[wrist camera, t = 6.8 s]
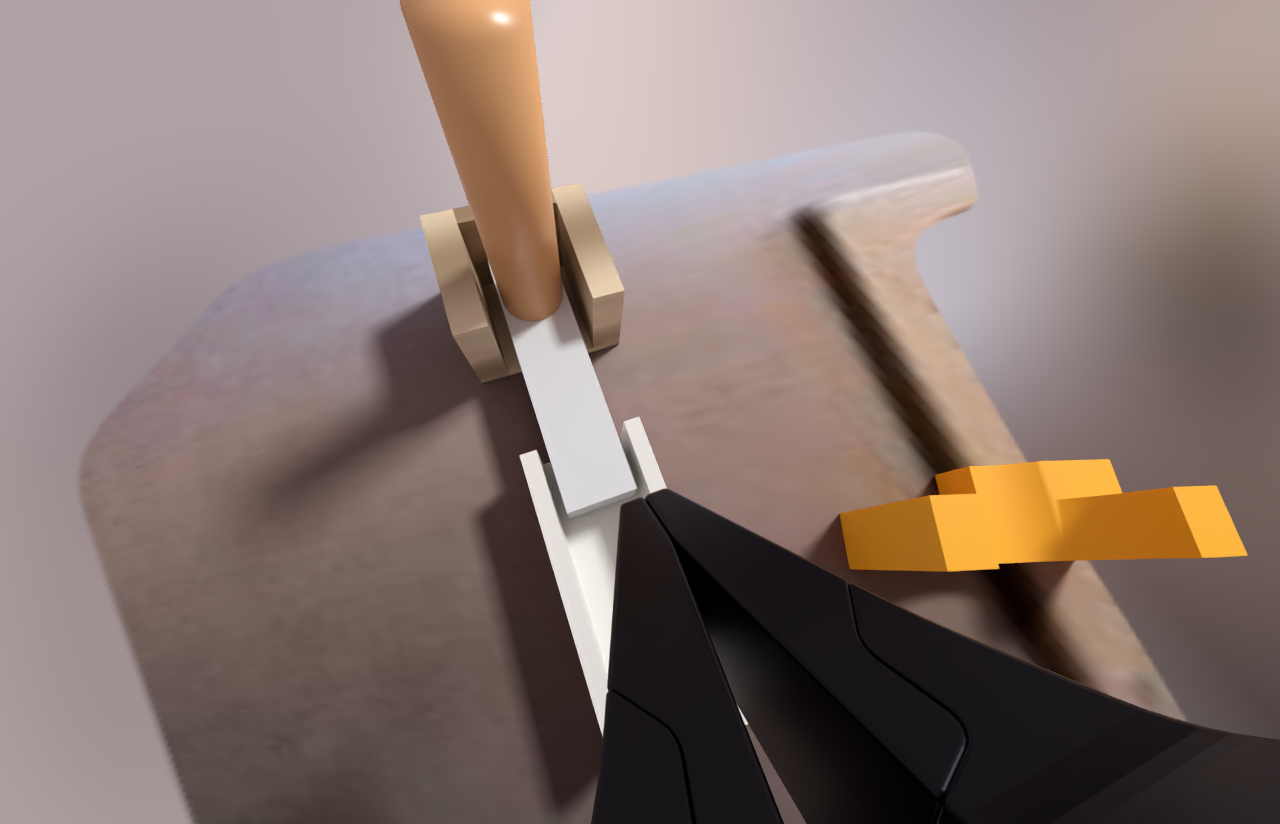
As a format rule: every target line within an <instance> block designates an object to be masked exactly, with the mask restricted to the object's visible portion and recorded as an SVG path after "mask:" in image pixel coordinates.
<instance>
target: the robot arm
mask: <svg viewBox="0 0 1280 824" xmlns="http://www.w3.org/2000/svg"><path fill="white" fill-rule="evenodd" d="M607 689H608V692H607V694H606V704H605V717H604V729H603V739H602V748H601V758H600V767H599V776H598V783H597V789H596V796H595V802H594V808H593V815H592V821H591V824H784V823H783V820H782V818H781V815H780V813H779V810H778V807H777V805H776V802H775V800H774V797H773V795H772V792H771V790H770V787H769V785H768V782H767V779H766V777H765V774H764V772H763V769H762V767H761V764H760V762H759V759H758V757H757V754H756V751H755V749H754V746H753V744H752V741H751V739H750V736H749V734H748V731H747V729H746V726H745V723H744V721H743V718H742V716H741V713H740V711H739V709H740V710H741V712H742V714H743V715H744V717H745V719H746V721H747V722H748V724H749V726H750V727H751V729H752V731H753V733H754V734H755V736H756V738H757V739H758V741H759V743H760V745H761V746H762V748H763V750H764V751H765V753H766V755H767V757H768V758H769V760H770V762H771V763H772V765H773V767H774V769H775V770H776V772H777V774H778V775H779V777H780V779H781V781H782V782H783V784H784V786H785V787H786V789H787V791H788V792H789V794H790V796H791V798H792V799H793V801H794V803H795V804H796V806H797V808H798V810H799V811H800V813H801V815H802V816H803V818H804V820H805V822H806V823H807V824H1280V740H1278V739H1270V738H1263V737H1257V736H1250V735H1244V734H1238V733H1232V732H1227V731H1223V730H1218V729H1213V728H1209V727H1204V726H1200V725H1196V724H1193V723H1189V722H1185V721H1182V720H1178V719H1174V718H1171V717H1168V716H1165V715H1162V714H1158V713H1155V712H1152V711H1149V710H1146V709H1143V708H1140V707H1138V706H1135V705H1133V704H1130V703H1127V702H1125V701H1122V700H1120V699H1117V698H1114V697H1112V696H1109V695H1107V694H1105V693H1102V692H1100V691H1097V690H1095V689H1093V688H1090V687H1088V686H1085V685H1083V684H1080V683H1078V682H1076V681H1073V680H1071V679H1068V678H1066V677H1063V676H1061V675H1059V674H1056V673H1054V672H1051V671H1049V670H1046V669H1044V668H1042V667H1039V666H1037V665H1034V664H1032V663H1030V662H1027V661H1025V660H1022V659H1020V658H1017V657H1015V656H1013V655H1010V654H1008V653H1005V652H1003V651H1000V650H998V649H996V648H993V647H991V646H988V645H986V644H984V643H981V642H979V641H976V640H974V639H972V638H969V637H967V636H965V635H962V634H960V633H958V632H956V631H953V630H951V629H949V628H946V627H944V626H942V625H939V624H937V623H935V622H932V621H930V620H928V619H926V618H923V617H921V616H919V615H917V614H915V613H913V612H911V611H909V610H907V609H905V608H903V607H900V606H898V605H896V604H894V603H892V602H890V601H888V600H886V599H884V598H882V597H880V596H878V595H876V594H874V593H872V592H870V591H868V590H866V589H864V588H862V587H860V586H858V585H856V584H854V583H850V584H849V586H848V582H847V580H846V579H844V578H842V577H840V576H838V575H836V574H834V573H832V572H830V571H828V570H826V569H824V568H822V567H820V566H819V565H817V564H815V563H813V562H811V561H809V560H807V559H805V558H803V557H801V556H799V555H797V554H795V553H793V552H791V551H789V550H787V549H785V548H783V547H781V546H779V545H777V544H775V543H773V542H772V541H770V540H768V539H766V538H764V537H762V536H760V535H758V534H756V533H754V532H752V531H750V530H748V529H746V528H744V527H742V526H740V525H738V524H736V523H734V522H732V521H730V520H728V519H726V518H725V517H723V516H721V515H719V514H717V513H715V512H713V511H711V510H709V509H707V508H705V507H703V506H701V505H699V504H697V503H695V502H693V501H691V500H689V499H687V498H685V497H683V496H681V495H679V494H678V493H676V492H674V491H672V490H670V489H666V488H664V489H661V490H658V491H655V492H652V493H650V494H647V495H646V496H645V499H644V498H642V497H639V498H636V499H633V500H630V501H627V502H625V503H623V504H622V505H621V506H620V514H619V528H618V542H617V556H616V570H615V584H614V598H613V611H612V625H611V639H610V653H609V667H608V681H607ZM737 705H738V706H737ZM738 707H739V708H738Z"/></svg>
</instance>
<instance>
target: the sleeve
mask: <svg viewBox="0 0 1280 824" xmlns="http://www.w3.org/2000/svg"><path fill="white" fill-rule="evenodd" d="M619 440H620V443H621V445H622V448H623V451H624V454H625V456H626V459H627V462H628V465H629V467H630V470H631V473H632V476H633V478H634V481H635V484H636V487H637V490H636V491H635V493H634V495H633V496H632V497H629V498H626V499H623V500H620V501H618V502H615V503H612V504H609V505H607V506H604V507H601V508H598V509H595V510H593V511H590V512H587V513H584V514H581V515H579V516H576V517H573V518H569V516H568V514H567V512H566V509H565V506H564V502H563V499H562V496H561V493H560V490H559V486H558V483H557V480H556V477H555V474H554V471H553V467H552V464H551V462H549V463H546V464H543V462H542V460H541V458H540V456H539V454H538V452H537V450H534V451H531V452H528V453H525V454H522V455H519V456H520V459H521V462H522V466H523V469H524V473H525V476H526V479H527V483H528V486H529V490H530V493H531V496H532V500H533V503H534V506H535V510H536V513H537V517H538V520H539V523H540V527H541V530H542V533H543V537H544V540H545V544H546V547H547V550H548V554H549V557H550V561H551V564H552V567H553V571H554V574H555V577H556V581H557V584H558V588H559V591H560V594H561V598H562V601H563V605H564V608H565V611H566V615H567V618H568V621H569V625H570V628H571V632H572V635H573V638H574V642H575V645H576V648H577V652H578V655H579V659H580V662H581V665H582V669H583V672H584V676H585V679H586V682H587V686H588V689H589V692H590V696H591V699H592V703H593V706H594V709H595V713H596V716H597V719H598V723H599V726H600V730H601V733H602V736H603V729H604V717H605V704H606V694H607V692H608V689H607V681H608V667H609V653H610V639H611V625H612V611H613V598H614V584H615V570H616V556H617V542H618V528H619V514H620V506H621V505H622V504H623V503H625V502H627V501H630V500H633V499H636V498H639V497H642V498H644V499H645V496H646V495H647V494H650V493H652V492H655V491H658V490H661V489H664V488H666V485H665V483H664V480H663V478H662V475H661V472H660V470H659V467H658V464H657V462H656V459H655V457H654V454H653V451H652V449H651V446H650V444H649V441H648V438H647V436H646V433H645V430H644V428H643V425H642V423H641V420H640V417H637V418H633V419H630V420H627V421H624V423H623V428H622V433H621V437H620V439H619ZM666 489H667V488H666ZM737 706H738V705H737ZM738 708H739V707H738ZM739 711H740V713H741V716H742V718H743V721H744V723H745V725H747V724H748V722H747V721H746V719H745V717H744V715H743V714H742V712H741V710H740V709H739Z"/></svg>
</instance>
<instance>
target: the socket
mask: <svg viewBox="0 0 1280 824" xmlns="http://www.w3.org/2000/svg"><path fill="white" fill-rule="evenodd" d="M551 192H552V201H553V210H554V219H555V228H556V236H557V245H558V254H559V263H560V272H561V280H562V283H563V286H564V289H565V292H566V294H567V297H568V300H569V303H570V305H571V308H572V311H573V314H574V316H575V319H576V322H577V325H578V327H579V330H580V333H581V336H582V338H583V341H584V344H585V346H586V349H587V352H588V353H591V352H594V351H598V350H601V349H604V348H608V347H611V346H615V345H618V344H619V335H620V326H621V317H622V308H623V300H624V291H625V290H624V288H623V285H622V283H621V280H620V278H619V275H618V273H617V271H616V268H615V266H614V263H613V261H612V258H611V256H610V253H609V251H608V248H607V246H606V244H605V241H604V239H603V236H602V234H601V231H600V229H599V226H598V224H597V221H596V219H595V216H594V214H593V212H592V209H591V207H590V204H589V202H588V199H587V197H586V194H585V192H584V190H583V187H582V185H581V183H576V184H572V185H567V186H562V187H557V188H552V189H551ZM420 219H421V223H422V227H423V230H424V234H425V238H426V241H427V245H428V248H429V252H430V256H431V259H432V263H433V267H434V270H435V274H436V278H437V281H438V285H439V289H440V292H441V296H442V300H443V303H444V307H445V311H446V314H447V318H448V322H449V325H450V329H451V333H452V336H453V337H454V339H455V341H456V342H457V344H458V345H459V347H460V349H461V350H462V352H463V354H464V355H465V357H466V358H467V360H468V362H469V363H470V365H471V367H472V368H473V370H474V371H475V373H476V375H477V376H478V378H479V379H480V381H481V383H486V382H489V381H493V380H496V379H500V378H503V377H507V376H510V375H514V374H517V373H521V372H522V369H521V366H520V363H519V359H518V356H517V353H516V350H515V347H514V343H513V340H512V337H511V334H510V331H509V328H508V324H507V321H506V318H505V315H504V312H503V309H502V305H501V302H500V299H499V296H498V293H497V289H496V286H495V283H494V280H493V277H492V274H491V270H490V267H489V264H488V261H487V260H488V258H487V255H486V252H485V249H484V246H483V243H482V241H481V238H480V235H479V232H478V229H477V226H476V223H475V220H474V218H473V215H472V212H471V209H470V206H466V207H461V208H456V209H451V210H446V211H442V212H437V213H432V214H427V215H422V216H420Z"/></svg>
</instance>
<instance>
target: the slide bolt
mask: <svg viewBox="0 0 1280 824" xmlns="http://www.w3.org/2000/svg"><path fill="white" fill-rule="evenodd" d="M400 5H401V10H402V13H403V15H404V18H405V21H406V24H407V27H408V30H409V33H410V36H411V39H412V42H413V44H414V47H415V50H416V53H417V56H418V59H419V62H420V64H421V67H422V70H423V73H424V76H425V79H426V82H427V85H428V88H429V90H430V93H431V96H432V99H433V102H434V105H435V108H436V111H437V113H438V117H439V119H440V122H441V125H442V128H443V131H444V134H445V137H446V140H447V143H448V145H449V148H450V151H451V154H452V157H453V160H454V163H455V166H456V168H457V171H458V174H459V177H460V180H461V183H462V186H463V188H464V192H465V194H466V197H467V200H468V203H469V206H470V209H471V212H472V215H473V218H474V220H475V223H476V226H477V229H478V232H479V235H480V238H481V241H482V243H483V246H484V249H485V252H486V255H487V258H488V260H487V261H488V264H489V267H490V270H491V274H492V277H493V280H494V283H495V286H496V289H497V293H498V296H499V299H500V302H501V305H502V309H503V312H504V315H505V318H506V321H507V324H508V328H509V331H510V334H511V337H512V340H513V343H514V347H515V350H516V353H517V356H518V359H519V363H520V366H521V369H522V372H523V375H524V378H525V382H526V385H527V388H528V391H529V394H530V398H531V401H532V404H533V407H534V410H535V413H536V417H537V420H538V423H539V426H540V429H541V432H542V436H543V439H544V442H545V445H546V448H547V452H548V455H549V458H550V461H551V464H552V467H553V471H554V474H555V477H556V480H557V483H558V486H559V490H560V493H561V496H562V499H563V502H564V506H565V509H566V512H567V514H568V516H569V518H573V517H576V516H579V515H581V514H584V513H587V512H590V511H593V510H595V509H598V508H601V507H604V506H607V505H609V504H612V503H615V502H618V501H620V500H623V499H626V498H629V497H632V496H633V495H634V493H635V491H636V490H637V487H636V484H635V481H634V478H633V476H632V473H631V470H630V467H629V465H628V462H627V459H626V456H625V454H624V451H623V448H622V445H621V443H620V440H619V437H618V434H617V432H616V429H615V426H614V423H613V421H612V418H611V415H610V412H609V410H608V407H607V404H606V401H605V399H604V396H603V393H602V390H601V388H600V385H599V382H598V379H597V377H596V374H595V371H594V368H593V366H592V363H591V360H590V357H589V355H588V352H587V349H586V346H585V344H584V341H583V338H582V336H581V333H580V330H579V327H578V325H577V322H576V319H575V316H574V314H573V311H572V308H571V305H570V303H569V300H568V297H567V294H566V292H565V289H564V286H563V283H562V280H561V272H560V263H559V254H558V245H557V236H556V228H555V219H554V210H553V201H552V192H551V184H550V175H549V166H548V157H547V149H546V140H545V131H544V122H543V113H542V104H541V96H540V87H539V78H538V69H537V60H536V51H535V42H534V34H533V25H532V16H531V7H530V0H400Z"/></svg>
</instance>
